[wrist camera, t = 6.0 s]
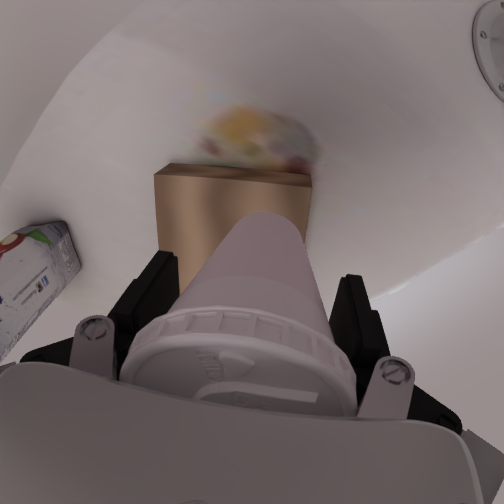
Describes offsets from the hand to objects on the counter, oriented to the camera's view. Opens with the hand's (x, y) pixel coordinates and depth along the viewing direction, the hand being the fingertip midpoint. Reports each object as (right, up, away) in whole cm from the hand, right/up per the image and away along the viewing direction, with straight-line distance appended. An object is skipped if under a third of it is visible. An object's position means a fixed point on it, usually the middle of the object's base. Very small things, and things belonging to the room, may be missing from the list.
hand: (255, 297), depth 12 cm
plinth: (-2, +4, +22) cm, 22 cm away
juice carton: (-28, +3, +27) cm, 39 cm away
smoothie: (+1, +2, +4) cm, 4 cm away
